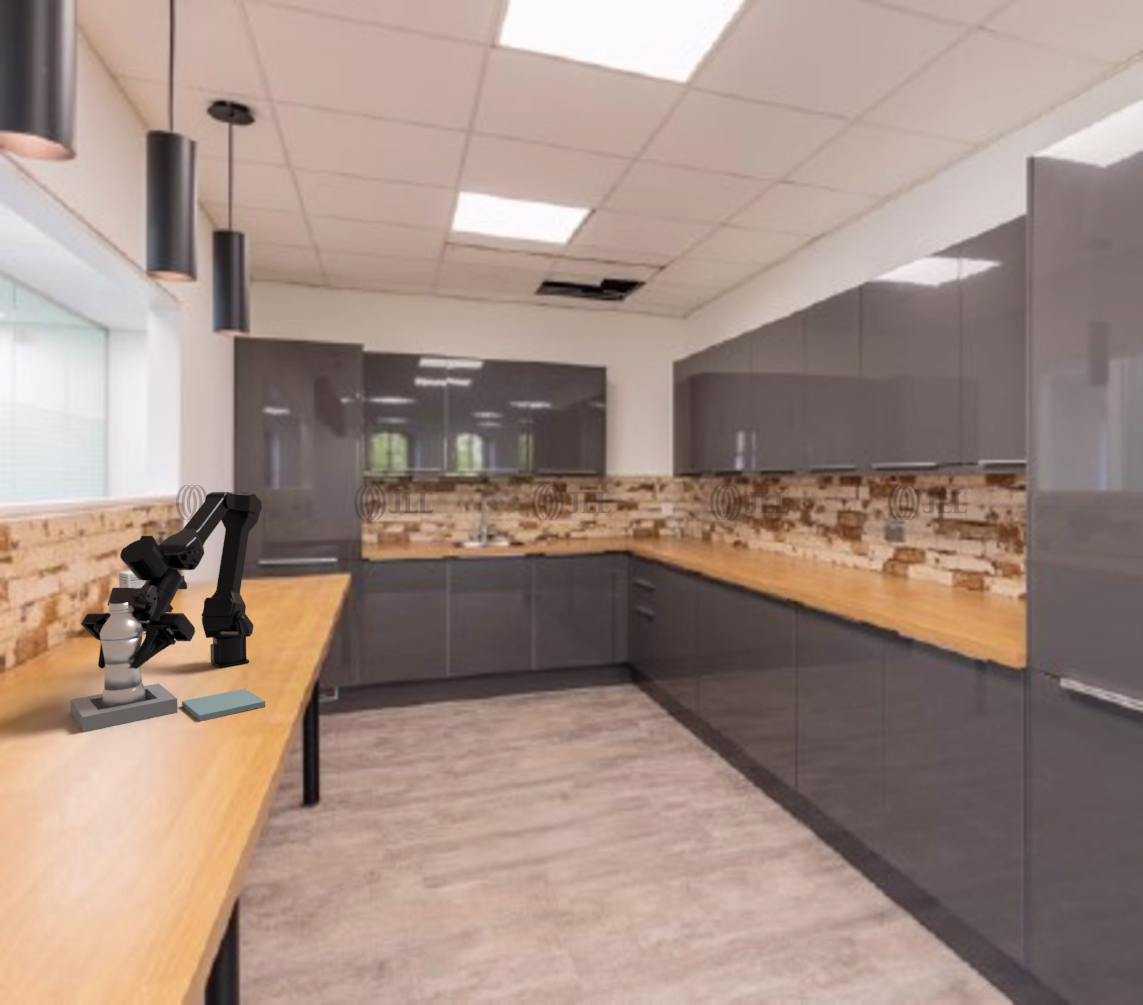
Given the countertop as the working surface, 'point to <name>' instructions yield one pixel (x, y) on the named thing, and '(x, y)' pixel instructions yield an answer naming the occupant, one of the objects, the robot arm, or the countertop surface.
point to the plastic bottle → (121, 657)
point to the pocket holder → (122, 709)
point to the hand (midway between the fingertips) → (117, 667)
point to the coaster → (222, 704)
